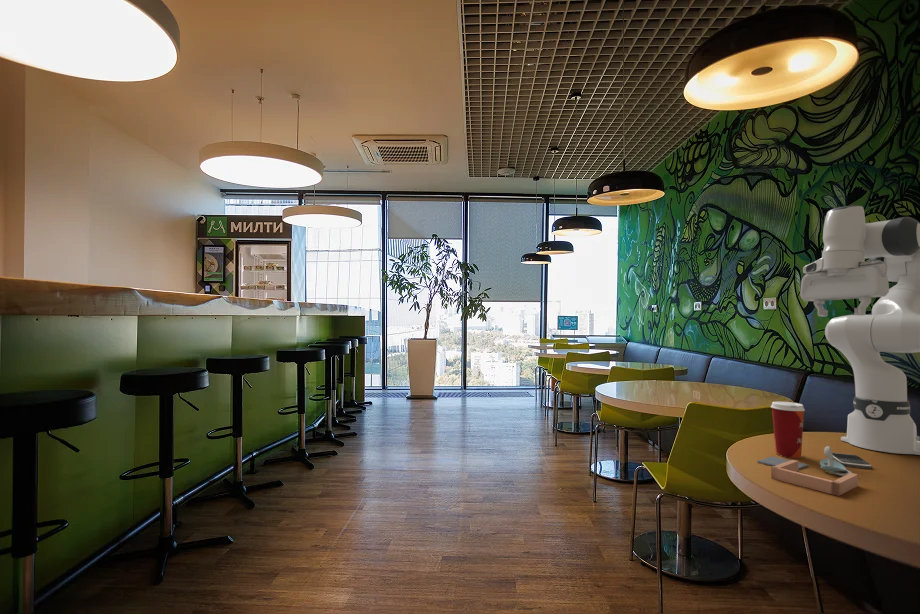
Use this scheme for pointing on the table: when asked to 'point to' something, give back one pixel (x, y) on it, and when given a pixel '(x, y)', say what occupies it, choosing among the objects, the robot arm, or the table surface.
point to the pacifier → (832, 464)
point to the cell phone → (851, 460)
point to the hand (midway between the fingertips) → (840, 315)
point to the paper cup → (788, 428)
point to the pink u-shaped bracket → (813, 479)
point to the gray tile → (779, 462)
